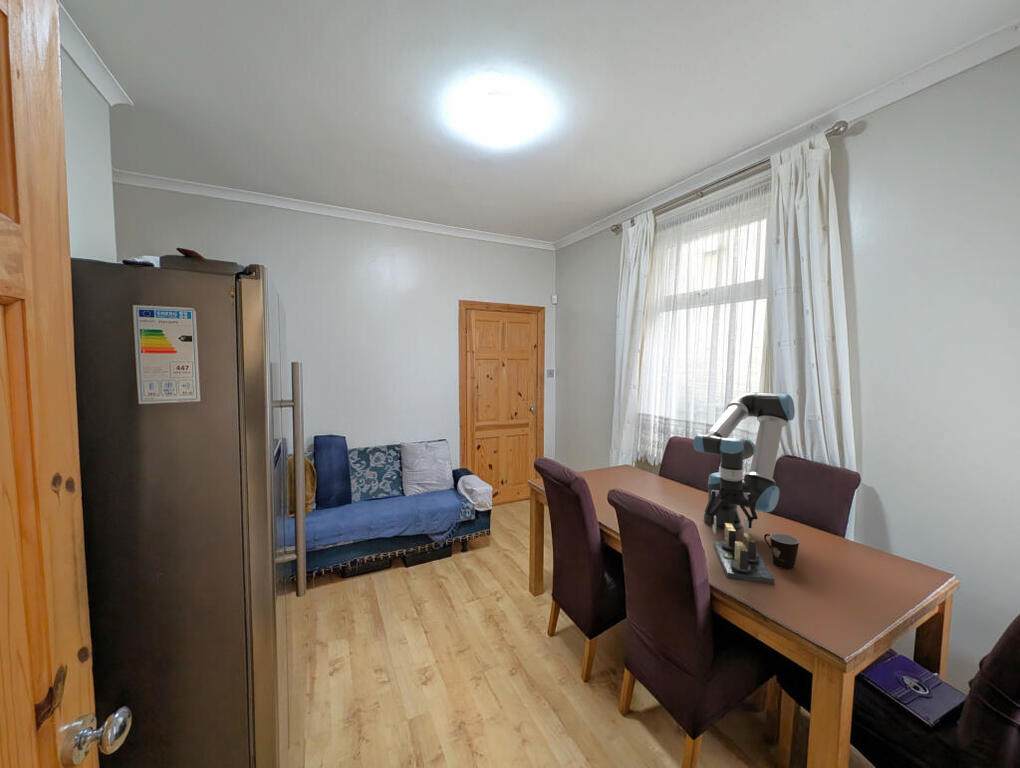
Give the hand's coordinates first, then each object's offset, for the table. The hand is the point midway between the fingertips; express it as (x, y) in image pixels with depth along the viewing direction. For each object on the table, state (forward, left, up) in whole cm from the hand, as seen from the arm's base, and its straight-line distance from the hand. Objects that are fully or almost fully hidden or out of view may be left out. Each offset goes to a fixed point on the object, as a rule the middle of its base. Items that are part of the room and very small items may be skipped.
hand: (730, 533), depth 149 cm
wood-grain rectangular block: (+8, +4, -5) cm, 11 cm away
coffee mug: (+3, +16, -8) cm, 18 cm away
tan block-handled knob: (0, 0, -5) cm, 5 cm away
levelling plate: (+8, +2, -7) cm, 11 cm away
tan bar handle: (+16, 0, -5) cm, 17 cm away
